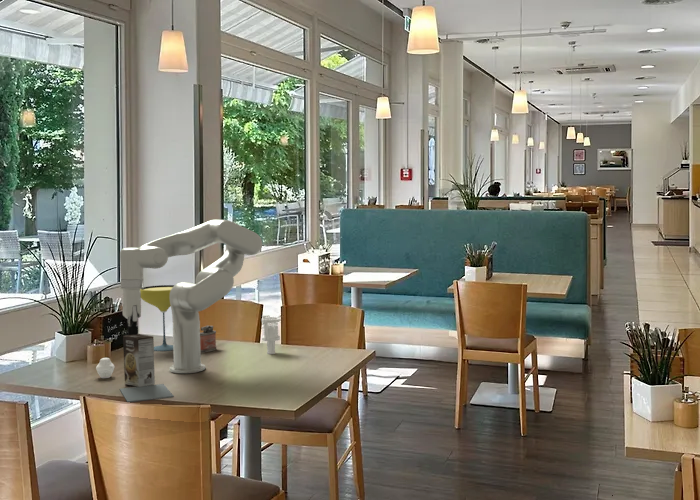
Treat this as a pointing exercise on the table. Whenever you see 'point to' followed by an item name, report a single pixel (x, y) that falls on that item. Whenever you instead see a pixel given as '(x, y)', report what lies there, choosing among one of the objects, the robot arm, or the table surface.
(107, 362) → the white rounded jar
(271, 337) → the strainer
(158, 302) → the cocktail glass
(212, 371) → the table surface
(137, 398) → the rubber mat
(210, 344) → the lighter
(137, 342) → the coffee box
